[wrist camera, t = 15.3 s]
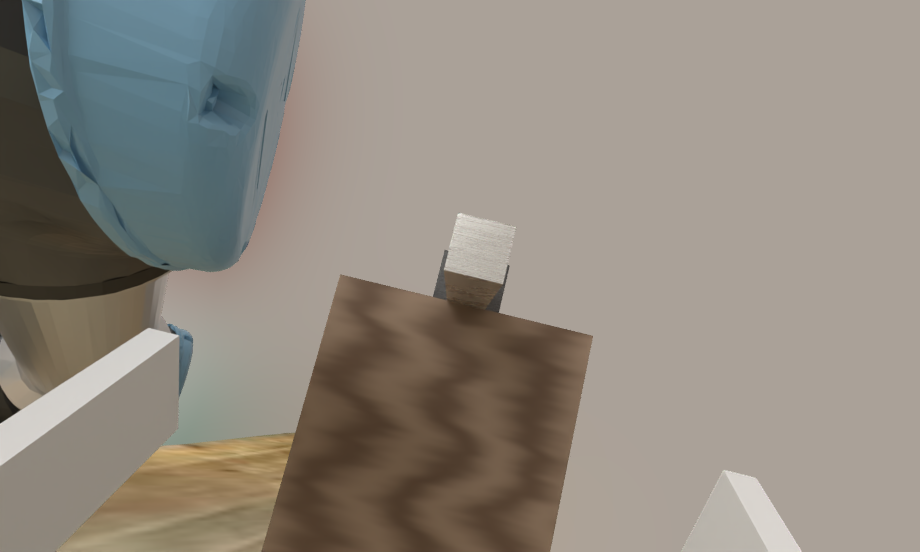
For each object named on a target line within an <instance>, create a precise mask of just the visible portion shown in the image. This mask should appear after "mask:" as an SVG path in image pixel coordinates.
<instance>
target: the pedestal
mask: <svg viewBox="0 0 920 552" xmlns="http://www.w3.org/2000/svg"><path fill="white" fill-rule="evenodd" d="M592 338H593V336H591V335H587V334H583V333H578V332H575V331H571V330H567V329H562V328H558V327H554V326H550V325H546V324H541V323H538V322H534V321H529V320H525V319H521V318H517V317H513V316H509V315H505V314H501V313H497V312H493V311H488V310H484V309H480V308H476V307H472V306H468V305H464V304H460V303H456V302H451V301H447V300H443V299H439V298H435V297H431V296H427V295H422V294H419V293H414V292H410V291H406V290H402V289H398V288H394V287H390V286H386V285H381V284H378V283H373V282H369V281H365V280H361V279H357V278H353V277H348V276H344V275H340V278H339V282H338V285H337V288H336V292H335V295H334V299H333V302H332V306H331V309H330V313H329V316H328V320H327V324H326V327H325V331H324V335H323V338H322V341H321V345H320V348H319V352H318V355H317V359H316V362H315V366H314V369H313V373H312V376H311V380H310V383H309V387H308V390H307V394H306V397H305V401H304V404H303V408H302V411H301V415H300V419H299V422H298V426H297V430H296V433H295V436H294V440H293V443H292V447H291V450H290V454H289V457H288V461H287V464H286V468H285V471H284V475H283V478H282V482H281V485H280V489H279V492H278V496H277V499H276V503H275V506H274V510H273V513H272V517H271V521H270V524H269V528H268V531H267V535H266V538H265V542H264V545H263V549H262V552H550V549H551V544H552V539H553V534H554V529H555V524H556V519H557V514H558V509H559V504H560V499H561V493H562V489H563V484H564V479H565V474H566V469H567V463H568V458H569V454H570V449H571V444H572V439H573V433H574V429H575V423H576V418H577V413H578V408H579V403H580V399H581V394H582V389H583V384H584V379H585V373H586V368H587V364H588V358H589V353H590V348H591V343H592Z"/></svg>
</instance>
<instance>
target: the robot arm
mask: <svg viewBox="0 0 920 552" xmlns="http://www.w3.org/2000/svg"><path fill="white" fill-rule="evenodd" d="M305 1H306V0H0V552H56V551H57V550H58V549H59V548H60V547H61V546H62V545H63V544H64V543H65V541H66V540H67V539H68V538H69V537H70V536H71V535H72V534H73V533H74V532H75V531H76V530H77V529H78V528H79V527H80V526H81V525H82V524H83V523H84V522H85V521H86V520H87V519H88V518H89V517H90V516H91V515H92V514H93V513H94V512H95V511H96V510H97V509H98V508H99V507H100V506H101V505H102V504H103V503H104V502H105V501H106V500H107V499H108V498H109V497H110V496H111V495H112V494H113V493H114V492H115V491H116V490H117V489H118V488H119V487H120V486H121V485H122V484H123V483H124V482H125V481H126V480H127V479H128V478H129V477H130V476H131V475H132V474H133V473H134V472H135V471H136V470H137V469H138V468H139V467H140V466H141V465H142V464H143V463H144V462H145V461H146V460H147V459H148V458H149V457H150V456H151V455H152V454H153V453H154V452H155V451H156V450H157V449H158V448H159V447H160V446H161V445H162V444H163V443H164V442H165V441H166V440H167V439H168V438H169V437H170V436H171V435H172V434H173V433H174V432H175V431H176V430H177V429H178V407H179V396H180V394H181V390H182V388H183V385H184V382H185V379H186V376H187V373H188V369H189V365H190V362H191V357H192V352H193V338H192V336H191V334H190V333H189V332H187V331H186V330H183V329H179V328H178V327H177V326H173V325H172V324H167V323H166V321H165V320H164V318H163V317H162V316H161V313H162V308H163V302H164V297H165V292H166V286H167V281H168V276H169V273H170V272H171V271H181V270H185V269H195V270H201V271H206V272H216V271H222V270H225V269H228V268H230V267H231V266H233V265H234V264H235V263H236V262H238V261H239V258H240V256H241V254H242V253H243V251H244V250H245V249H246V247H247V245H248V243H249V240H250V237H251V235H252V232H253V230H254V226H255V222H256V218H257V216H258V213H259V210H260V207H261V204H262V201H263V197H264V193H265V190H266V186H267V182H268V178H269V174H270V171H271V168H272V164H273V160H274V156H275V152H276V148H277V144H278V139H279V134H280V128H281V124H282V120H283V115H284V107H285V103H286V100H287V97H288V94H289V90H290V86H291V82H292V77H293V72H294V67H295V62H296V57H297V52H298V47H299V41H300V35H301V29H302V23H303V16H304V7H305ZM681 552H802V551H801V549H800V548H799V546H798V545H797V543H796V541H795V540H794V538H793V537H792V535H791V533H790V532H789V530H788V529H787V527H786V525H785V524H784V522H783V521H782V519H781V517H780V516H779V514H778V512H777V511H776V509H775V508H774V506H773V504H772V503H771V501H770V500H769V498H768V496H767V495H766V493H765V492H764V490H763V488H762V487H761V485H760V483H759V482H758V480H757V479H756V478H754V477H750V476H746V475H742V474H738V473H734V472H730V471H726V470H723V472H722V474H721V476H720V477H719V479H718V481H717V483H716V486H715V487H714V489H713V491H712V493H711V495H710V497H709V499H708V501H707V503H706V504H705V506H704V508H703V510H702V512H701V514H700V516H699V518H698V520H697V522H696V524H695V526H694V528H693V529H692V532H691V534H690V535H689V537H688V539H687V541H686V543H685V545H684V547H683V549H682V551H681Z"/></svg>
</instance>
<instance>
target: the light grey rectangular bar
mask: <svg viewBox="0 0 920 552" xmlns="http://www.w3.org/2000/svg"><path fill="white" fill-rule="evenodd" d="M515 230H516V227H515V226H511V225H507V224H503V223H499V222H494V221H490V220H486V219H482V218H478V217H473V216H470V215H465V214H461V213H458V216H457V220H456V224H455V228H454V232H453V236H452V240H451V243H450V247H449V251H447V250H445V251H444V256H443V259H442V263H441V267H440V271H439V275H438V279H437V283H436V287H435V291H434V295H433V297H435V298H439V299H443V300H447V301H451V302H456V303H460V304H464V305H468V306H472V307H476V308H480V309H484V310H488V311H493V312H497V313H499V309H500V304H501V300H502V296H503V291H504V288H505V283H506V279H507V274H508V270H509V265H508V260H509V256H510V251H511V247H512V243H513V238H514V234H515Z"/></svg>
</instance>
